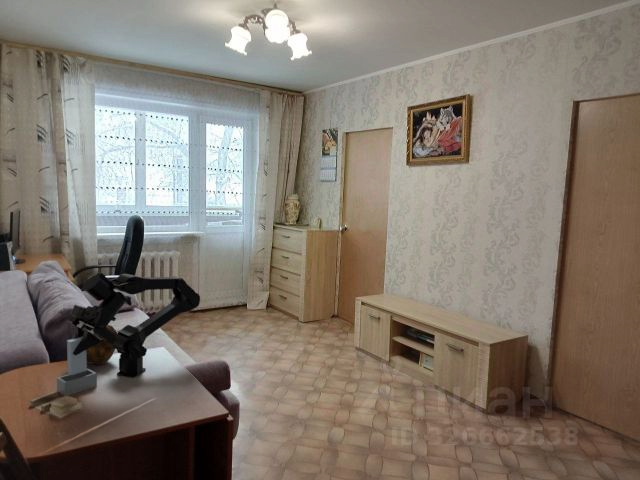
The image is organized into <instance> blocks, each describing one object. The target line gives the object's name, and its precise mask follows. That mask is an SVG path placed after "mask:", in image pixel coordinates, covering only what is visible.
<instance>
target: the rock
mask: <svg viewBox="0 0 640 480" xmlns="http://www.w3.org/2000/svg"><path fill="white" fill-rule="evenodd" d="M106 327H107V328H108V329H109V330H111V331H112V332H113V333H115V334H117V333H118V332H117V330H116V329H115V328H114V326H112V325H111V324H108V325H107V326H106ZM89 332H90V331H89ZM75 334H76V332H75V333H74V334H73V336H72V338H71V339H74V337H75ZM102 341H103V342H102V343H99V344H96V345H94V346H92V347H90V348H89V349H87V350H86V359H87V363H89V364H97V365H102V364H105V363H107V362H108V361H110V360H111V358H112V357H113V355H114V352H115V351H116V349H115V348H114V347H113V345H112V344H110V343H108V342H107V340H105V339H104V338H103V339H102Z"/></svg>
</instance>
